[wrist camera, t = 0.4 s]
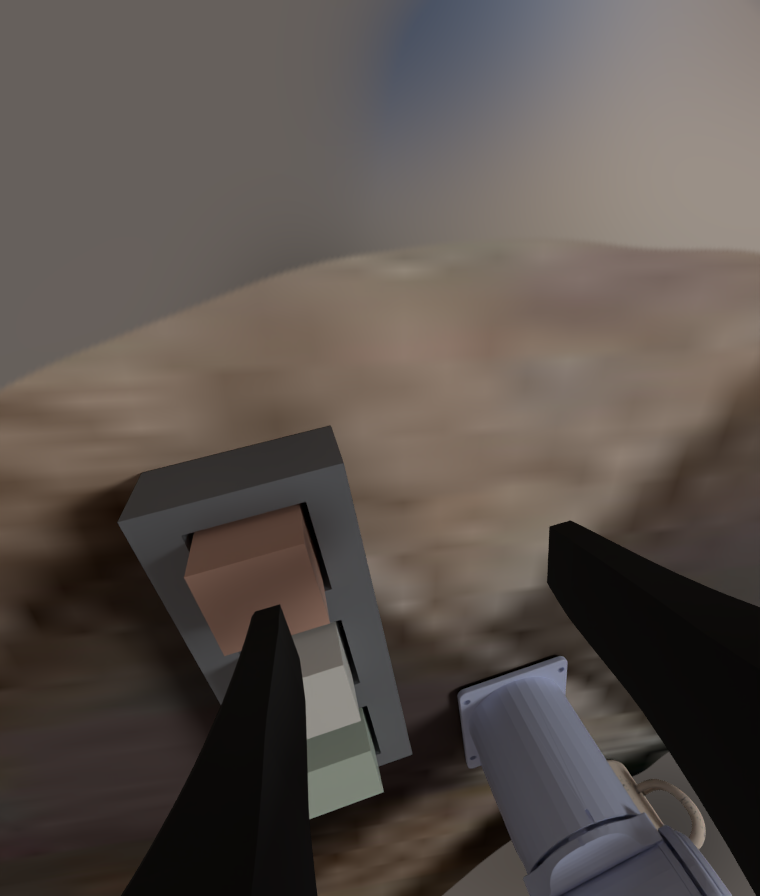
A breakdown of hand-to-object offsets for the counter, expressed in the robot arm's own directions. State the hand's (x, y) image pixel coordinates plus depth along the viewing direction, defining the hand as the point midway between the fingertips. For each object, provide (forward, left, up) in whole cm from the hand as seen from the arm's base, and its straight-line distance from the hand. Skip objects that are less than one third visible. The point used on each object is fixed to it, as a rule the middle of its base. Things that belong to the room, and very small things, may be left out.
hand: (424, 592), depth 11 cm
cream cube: (-9, +5, -8) cm, 13 cm away
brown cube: (-3, +5, -8) cm, 9 cm away
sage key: (-16, +5, -8) cm, 18 cm away
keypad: (-9, +5, -10) cm, 14 cm away
